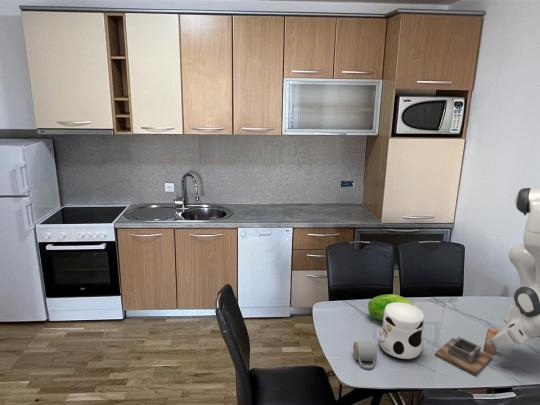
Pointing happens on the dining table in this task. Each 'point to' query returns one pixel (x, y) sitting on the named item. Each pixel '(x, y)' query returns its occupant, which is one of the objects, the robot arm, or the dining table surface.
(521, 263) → the robot arm
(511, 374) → the dining table surface
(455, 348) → the stand
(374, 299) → the lettuce
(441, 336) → the dining table surface
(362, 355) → the ceramic mug
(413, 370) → the dining table surface
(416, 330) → the milk container
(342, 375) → the dining table surface
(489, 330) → the post
